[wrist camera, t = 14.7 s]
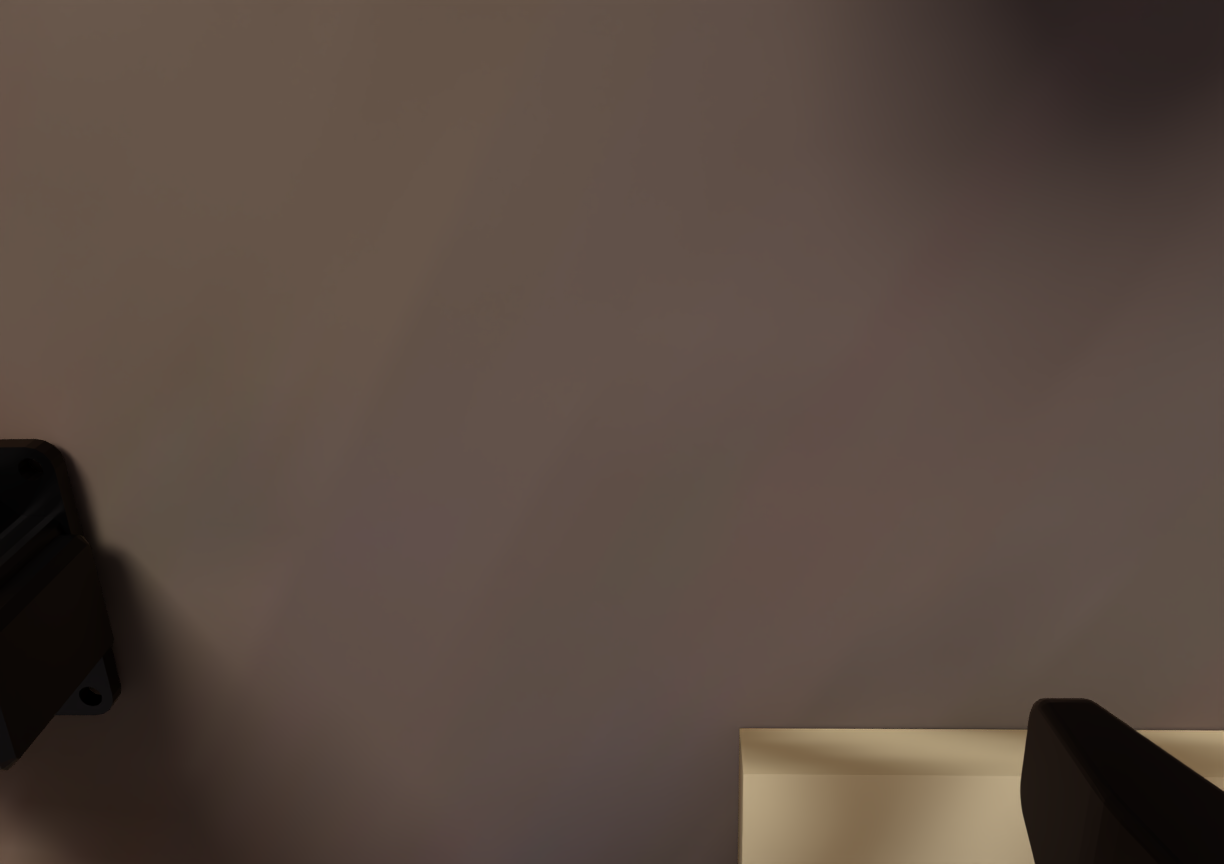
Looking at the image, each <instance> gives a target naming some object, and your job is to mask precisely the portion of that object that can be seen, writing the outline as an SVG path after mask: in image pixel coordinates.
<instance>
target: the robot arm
mask: <svg viewBox="0 0 1224 864" xmlns="http://www.w3.org/2000/svg"><path fill="white" fill-rule="evenodd" d="M29 459H34V460H35V461H37V462H38V463H39V464H40V465H41V467H42V469H43V473H41V472H37V471H36V470H35V469H33V468H32V467H31V465H30V463H29ZM113 641H114V639H113V634H112V630H111V626H110V622H109V618H108V614H107V610H106V606H105V602H104V598H103V594H102V590H101V586H100V582H99V578H98V574H97V570H96V566H95V562H94V558H93V554H92V550H91V546H90V544H89V543H88V542H87V541H86V539H85V538H84V536H83V532H82V528H81V524H80V520H79V516H78V512H77V508H76V504H75V500H74V496H73V492H72V488H71V484H70V480H69V476H68V472H67V468H66V464H65V461H64V459H63V456H62V454H61V452H60V451H59V450H58V449H57V448H56V447H55V446H54V445H52V444H50V443H48V442H46V441H43V440H38V439H2V440H0V770H8V769H9V768H11V767H12V766H13V765H14V764H15V763H16V762H17V761H18V760H19V758H20V757H21V756H22V755H23V754H24V752H25V751H26V750H27V749H28V747H29V746H30V745H31V744H32V743H33V741H34V740H35V739H36V738H37V736H38V735H39V734H40V733H41V731H42V730H43V729H44V728H45V727H46V725H47V724H48V723H49V722H50V720H51V719H52V718H53V717H54V716H55V715H99V714H104V713H105V712H107V711H108V710H110V708H111V707H112V706H113V704H114V703H115V702H116V700H117V699H118V697H119V695H120V694H121V684H120V680H119V676H118V672H117V668H116V664H115V660H114V656H113V652H112V648H111V646H112V644H113ZM89 687H92V688H95V689H96V690H98V691H99V692H100V694H101V695H99V694H95V693H94V692H92V691H91V690H90V688H89ZM1020 800H1021V808H1022V814H1023V818H1024V822H1025V826H1026V830H1027V834H1028V838H1029V842H1030V846H1031V850H1032V854H1033V858H1034V862H1035V864H1224V791H1223V790H1221V789H1220V788H1219V787H1217V786H1216V785H1214V784H1213V783H1211V782H1210V781H1208V780H1207V779H1205V778H1204V777H1203V776H1201V775H1200V774H1198V773H1197V772H1195V771H1194V770H1192V769H1191V768H1190V767H1188V766H1187V765H1185V764H1184V763H1182V762H1181V761H1179V760H1178V759H1177V758H1175V757H1174V756H1172V755H1171V754H1169V753H1168V752H1166V751H1165V750H1163V749H1162V748H1161V747H1159V746H1158V745H1156V744H1155V743H1153V742H1152V741H1150V740H1149V739H1148V738H1146V737H1145V736H1143V735H1142V734H1140V733H1139V732H1137V731H1136V730H1134V729H1133V728H1132V727H1130V726H1129V725H1127V724H1126V723H1124V722H1123V721H1121V720H1120V719H1119V718H1117V717H1116V716H1114V715H1113V714H1111V713H1110V712H1108V711H1107V710H1106V709H1104V708H1103V707H1101V706H1100V705H1098V704H1097V703H1095V702H1093V701H1091V700H1089V699H1084V698H1043V699H1039V700H1038V701H1037V702H1035V703H1034V705H1033V707H1032V709H1031V711H1030V715H1029V721H1028V729H1027V736H1026V743H1025V751H1024V758H1023V765H1022V773H1021V780H1020Z"/></svg>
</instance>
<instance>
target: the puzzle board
mask: <svg viewBox="0 0 1224 864" xmlns="http://www.w3.org/2000/svg"><path fill="white" fill-rule="evenodd" d="M1136 731H1137V732H1139V733H1140V734H1142V735H1143V736H1145V737H1146V738H1148V739H1149V740H1150V741H1152V742H1153V743H1155V744H1156V745H1158V746H1159V747H1161V748H1162V749H1163V750H1165V751H1166V752H1168V753H1169V754H1171V755H1172V756H1174V757H1175V758H1177V759H1178V760H1179V761H1181V762H1182V763H1184V764H1185V765H1187V766H1188V767H1190V768H1191V769H1192V770H1194V771H1195V772H1197V773H1198V774H1200V775H1201V776H1203V777H1204V778H1205V779H1207V780H1208V781H1210V782H1211V783H1213V784H1214V785H1216V786H1217V787H1219V788H1220V789H1221V790H1223V791H1224V731H1202V730H1136ZM1026 736H1027V730H984V729H766V728H740V732H739V812H738V864H1035V862H1034V858H1033V854H1032V850H1031V846H1030V842H1029V838H1028V834H1027V830H1026V826H1025V822H1024V818H1023V814H1022V808H1021V800H1020V780H1021V773H1022V765H1023V758H1024V751H1025V743H1026Z"/></svg>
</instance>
